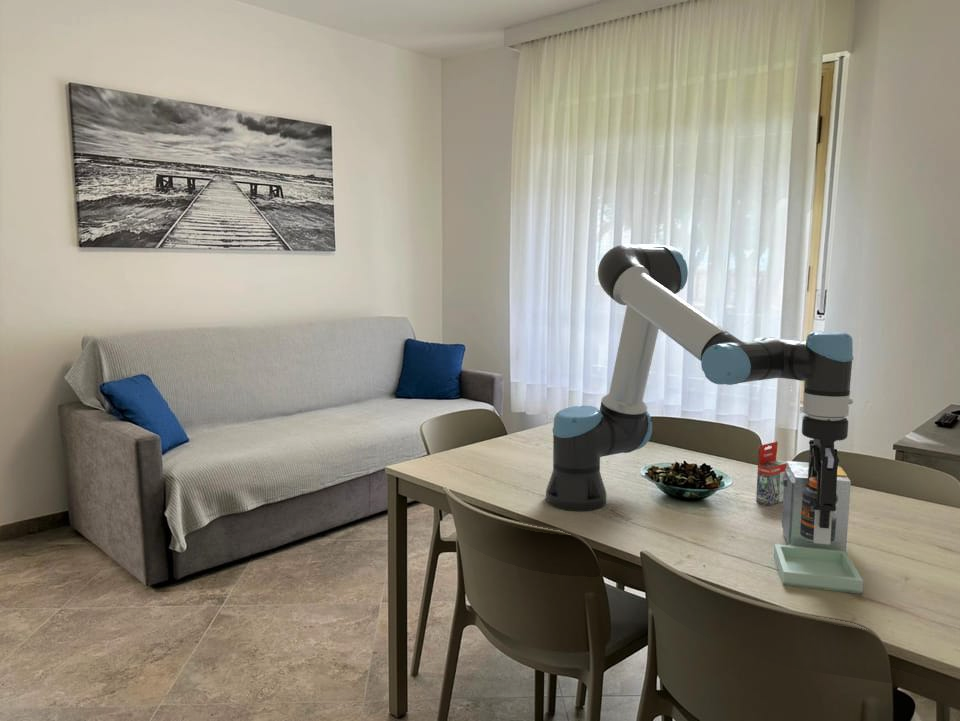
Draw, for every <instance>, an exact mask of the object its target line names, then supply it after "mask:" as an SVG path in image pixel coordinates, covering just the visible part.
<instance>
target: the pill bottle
mask: <svg viewBox="0 0 960 721" xmlns="http://www.w3.org/2000/svg"><path fill="white" fill-rule="evenodd" d="M837 503H838V496H837V494H836V510H835V511H832V525H831V541H830V542H832V541H834V540H835V531H836V518H837ZM813 506H817V477H811V478H810V479H809V487H808V488H806V489H805V490H804V491H803V495H802V511H801V526H800V534H801V536H802V537H804V538H805V539H807V540H810V541H813V537H814V520H815V510H813Z"/></svg>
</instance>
